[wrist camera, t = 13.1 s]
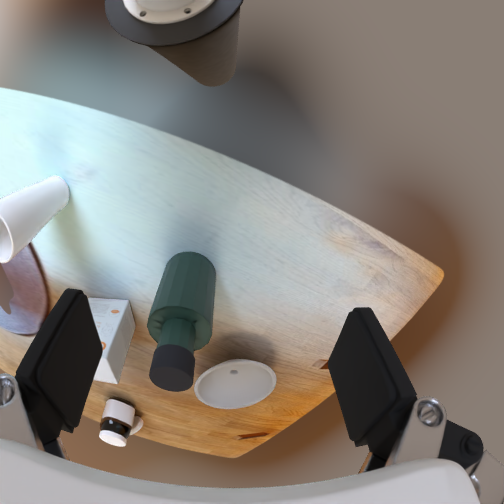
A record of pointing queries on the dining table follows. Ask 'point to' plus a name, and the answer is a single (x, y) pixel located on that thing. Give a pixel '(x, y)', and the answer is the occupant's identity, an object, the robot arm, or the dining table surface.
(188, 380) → the stopper
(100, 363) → the small box
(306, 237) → the dining table surface
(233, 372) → the dish
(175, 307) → the bottle
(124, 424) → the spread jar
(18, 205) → the white cup
